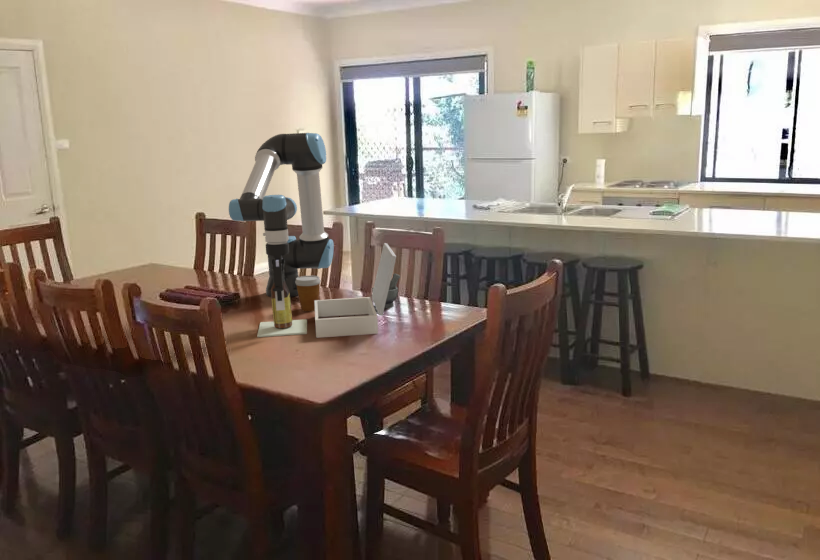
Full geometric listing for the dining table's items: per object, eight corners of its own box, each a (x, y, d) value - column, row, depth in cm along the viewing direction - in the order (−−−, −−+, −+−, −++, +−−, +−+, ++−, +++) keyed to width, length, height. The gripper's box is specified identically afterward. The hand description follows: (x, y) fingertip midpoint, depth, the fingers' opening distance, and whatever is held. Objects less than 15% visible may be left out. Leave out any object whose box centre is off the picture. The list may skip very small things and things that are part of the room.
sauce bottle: (296, 326, 232) (292, 268, 228) (280, 330, 228) (276, 271, 224) (285, 323, 237) (281, 266, 233) (269, 326, 233) (265, 269, 228)
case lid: (384, 242, 244) (387, 243, 244) (371, 296, 248) (374, 297, 248) (392, 255, 219) (396, 256, 219) (378, 315, 222) (382, 315, 223)
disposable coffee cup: (317, 313, 251) (315, 281, 248) (293, 312, 253) (290, 280, 250) (325, 306, 260) (324, 275, 258) (302, 305, 262) (300, 275, 259)
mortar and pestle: (378, 310, 252) (377, 278, 249) (368, 305, 260) (367, 274, 258) (406, 306, 257) (405, 275, 254) (395, 301, 265) (394, 270, 262)
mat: (260, 323, 239) (260, 322, 239) (306, 320, 241) (306, 319, 241) (257, 337, 223) (257, 335, 223) (306, 333, 225) (306, 332, 225)
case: (315, 316, 246) (314, 300, 245) (370, 313, 249) (370, 296, 248) (316, 337, 221) (315, 319, 220) (378, 333, 224) (377, 315, 222)
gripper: (267, 237, 237) (271, 296, 242) (263, 249, 213) (267, 315, 218) (289, 236, 238) (293, 295, 243) (287, 248, 214) (291, 313, 219)
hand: (281, 305), depth 230 cm, fingers open, 13 cm apart
